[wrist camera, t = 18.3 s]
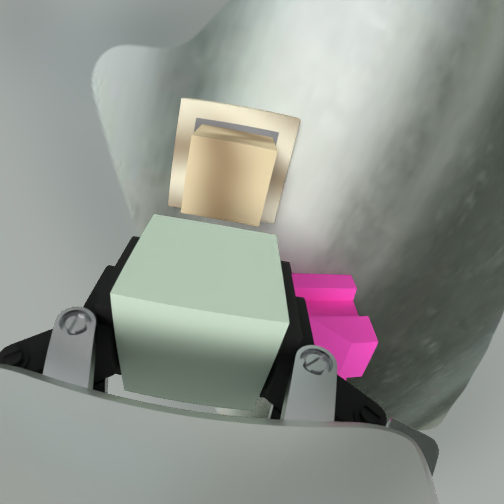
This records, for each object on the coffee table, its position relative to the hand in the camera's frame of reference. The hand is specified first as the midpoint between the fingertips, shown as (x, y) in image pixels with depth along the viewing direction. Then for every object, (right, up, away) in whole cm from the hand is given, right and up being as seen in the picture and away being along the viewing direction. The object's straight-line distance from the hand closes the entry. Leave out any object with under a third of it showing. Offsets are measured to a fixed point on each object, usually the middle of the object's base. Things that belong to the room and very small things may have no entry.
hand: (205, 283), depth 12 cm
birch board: (0, +9, +15) cm, 18 cm away
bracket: (+7, -5, +25) cm, 26 cm away
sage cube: (0, 0, 0) cm, 0 cm away
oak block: (0, +9, +14) cm, 17 cm away
